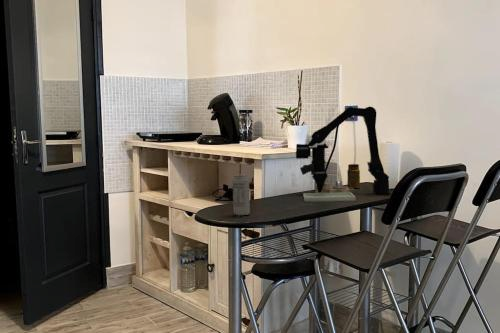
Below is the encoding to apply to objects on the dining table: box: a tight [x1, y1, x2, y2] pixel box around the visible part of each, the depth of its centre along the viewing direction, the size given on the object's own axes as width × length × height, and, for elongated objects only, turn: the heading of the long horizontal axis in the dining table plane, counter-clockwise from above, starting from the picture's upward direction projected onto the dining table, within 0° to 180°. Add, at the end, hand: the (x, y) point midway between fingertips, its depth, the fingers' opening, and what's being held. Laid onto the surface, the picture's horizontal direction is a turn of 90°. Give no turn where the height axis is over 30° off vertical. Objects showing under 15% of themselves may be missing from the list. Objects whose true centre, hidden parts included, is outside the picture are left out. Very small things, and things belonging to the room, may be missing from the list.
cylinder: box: [334, 180, 343, 189], centre depth 231 cm, size 3×3×6 cm
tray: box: [303, 191, 356, 203], centre depth 218 cm, size 21×14×2 cm
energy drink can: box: [232, 173, 251, 216], centre depth 185 cm, size 6×6×15 cm
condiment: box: [346, 163, 361, 188], centre depth 250 cm, size 7×8×12 cm
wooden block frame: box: [315, 182, 351, 193], centre depth 231 cm, size 15×9×5 cm, turn 86°
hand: (319, 191), depth 232 cm, fingers closed on wooden block frame, 4 cm apart
